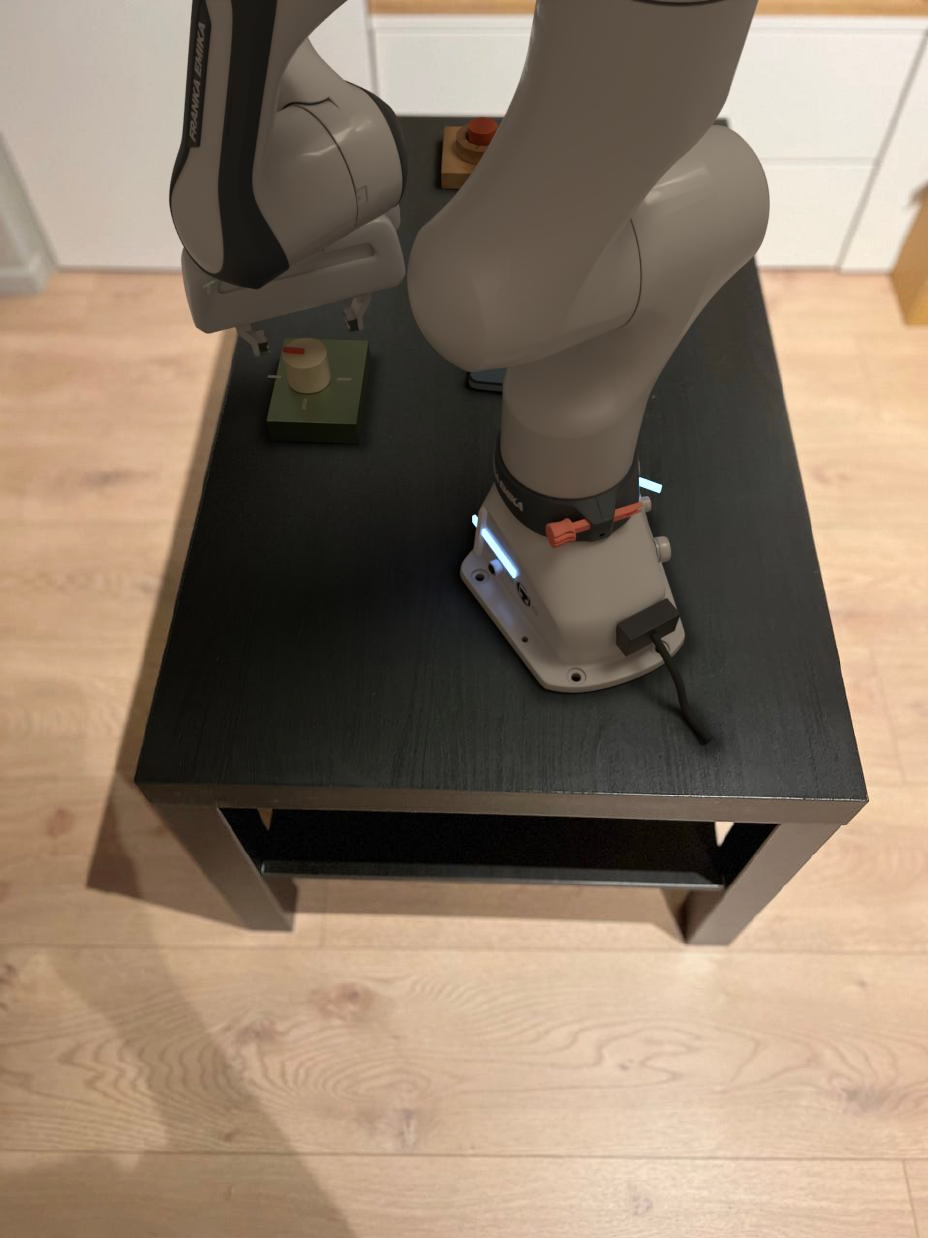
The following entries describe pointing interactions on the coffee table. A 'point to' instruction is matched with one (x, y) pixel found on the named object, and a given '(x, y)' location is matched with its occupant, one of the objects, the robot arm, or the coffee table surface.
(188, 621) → the coffee table surface
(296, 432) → the panel
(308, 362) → the knob
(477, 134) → the button
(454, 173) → the button block
